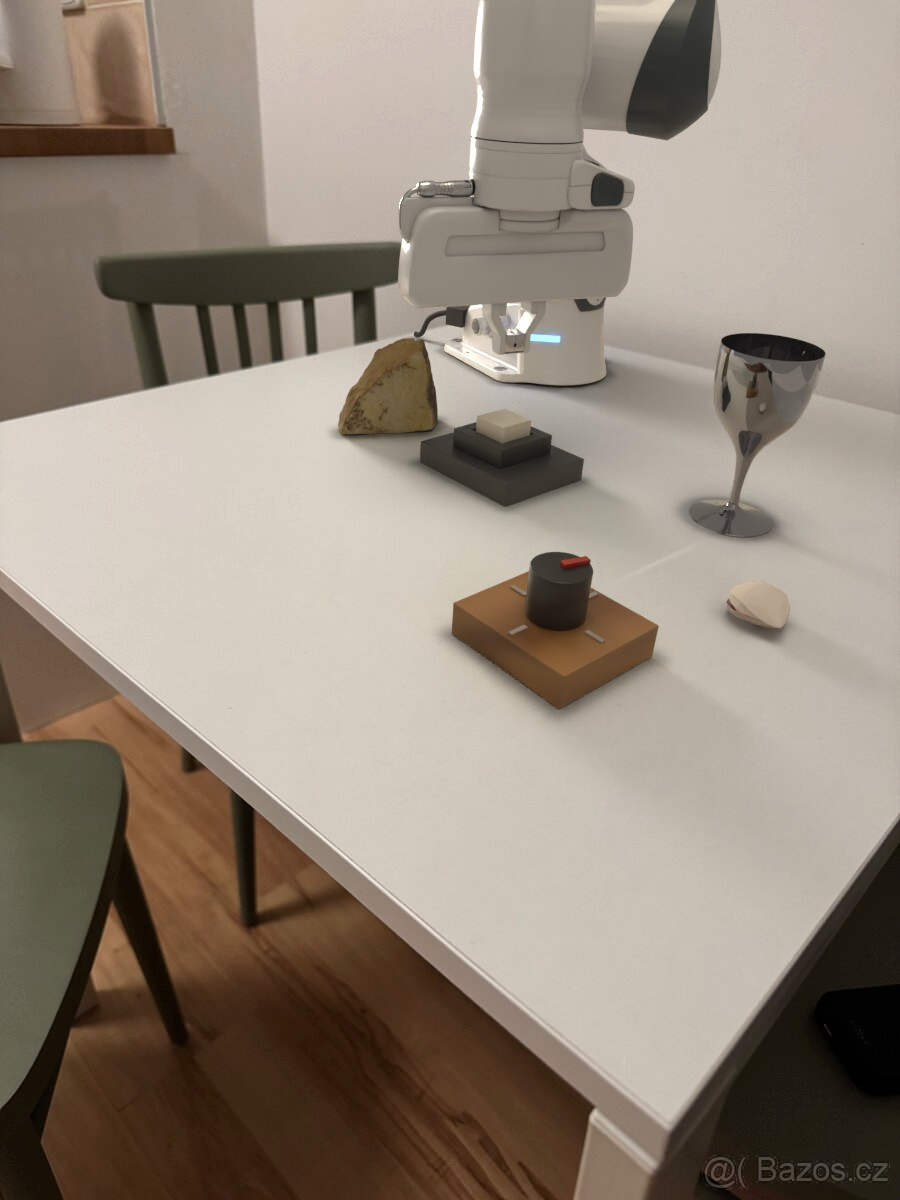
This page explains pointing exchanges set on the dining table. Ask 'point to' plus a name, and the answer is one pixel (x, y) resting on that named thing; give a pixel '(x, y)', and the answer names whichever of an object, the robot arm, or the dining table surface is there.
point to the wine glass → (756, 413)
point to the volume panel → (553, 641)
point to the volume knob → (558, 590)
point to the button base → (502, 463)
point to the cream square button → (503, 425)
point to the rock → (393, 393)
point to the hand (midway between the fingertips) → (510, 352)
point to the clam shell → (759, 604)
